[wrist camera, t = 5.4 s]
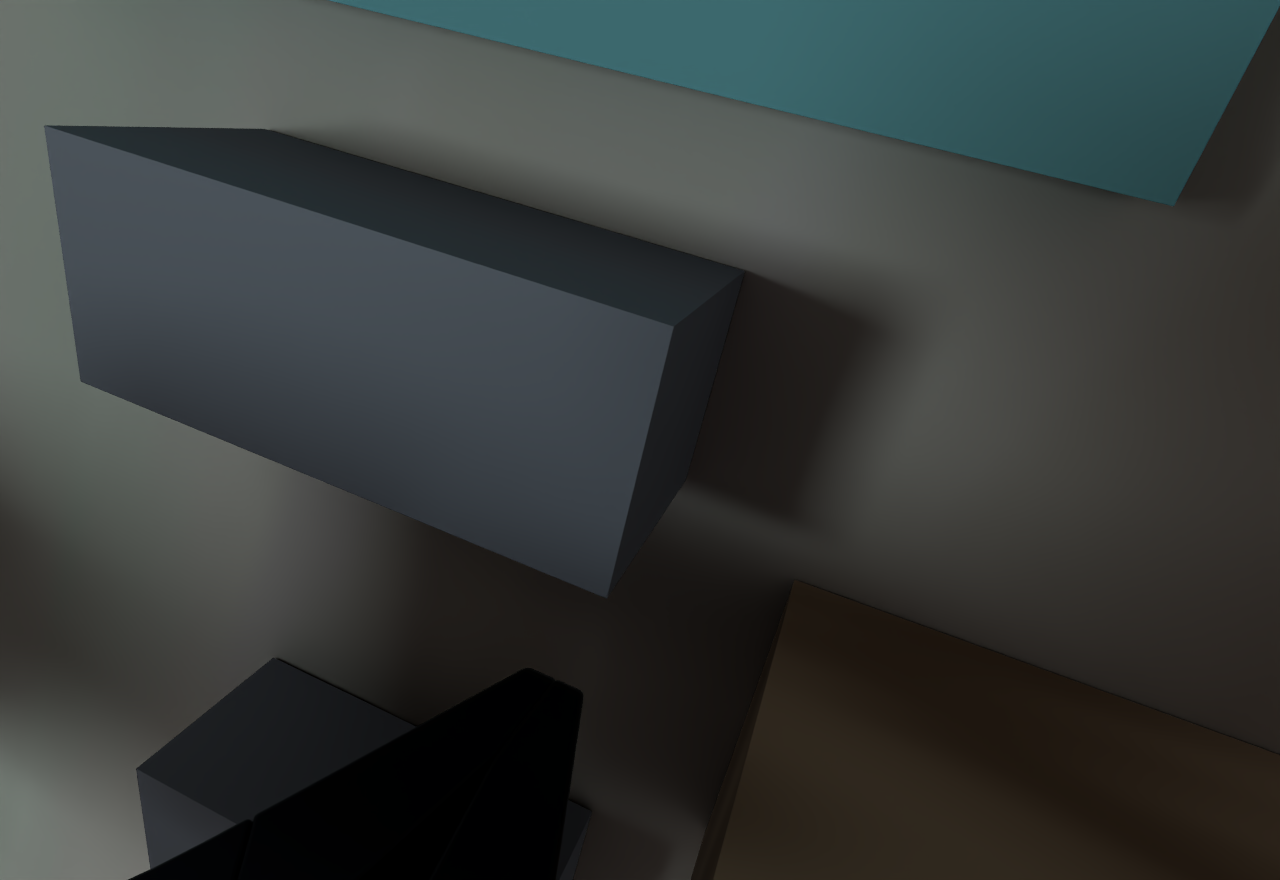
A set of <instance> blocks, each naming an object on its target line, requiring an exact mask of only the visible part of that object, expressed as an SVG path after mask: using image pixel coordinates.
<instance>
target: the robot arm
mask: <svg viewBox="0 0 1280 880" xmlns="http://www.w3.org/2000/svg"><path fill="white" fill-rule="evenodd" d="M582 704H583V692H582V691H581V690H579V689H577V688H575V687H572V686H570V685H568V684H566V683H564V682H561V681H559V680H555V679H554V678H552V677H550V676H548V675H546V674H543V673H541V672H539V671H537V670H534V669H532V668H525V669H522V670H520V671H518V672H516V673H515V674H513V675H511V676H509V677H507V678H505V679H504V680H502V681H500V682H498V683H496V684H494V685H493V686H491V687H489V688H487V689H485V690H483V691H482V692H480V693H478V694H476V695H474V696H472V697H470V698H469V699H467V700H465V701H463V702H461V703H459V704H458V705H456V706H454V707H452V708H450V709H448V710H447V711H445V712H443V713H441V714H439V715H437V716H436V717H434V718H432V719H430V720H428V721H426V722H424V723H423V724H421V725H419V726H417V727H415V728H413V729H412V730H410V731H408V732H406V733H404V734H402V735H401V736H399V737H397V738H395V739H393V740H391V741H390V742H388V743H386V744H384V745H382V746H380V747H378V748H377V749H375V750H373V751H371V752H369V753H367V754H366V755H364V756H362V757H360V758H358V759H356V760H355V761H353V762H351V763H349V764H347V765H345V766H344V767H342V768H340V769H338V770H336V771H334V772H332V773H331V774H329V775H327V776H325V777H323V778H321V779H320V780H318V781H316V782H314V783H312V784H310V785H309V786H307V787H305V788H303V789H301V790H299V791H298V792H296V793H294V794H292V795H290V796H288V797H286V798H285V799H283V800H281V801H279V802H277V803H275V804H274V805H272V806H270V807H268V808H266V809H264V810H263V811H261V812H259V813H257V814H256V815H255V816H254V818H253V821H252V820H250V819H245V820H243V821H242V822H240V823H238V824H236V825H234V826H233V827H231V828H229V829H227V830H225V831H223V832H221V833H220V834H218V835H216V836H214V837H212V838H210V839H208V840H207V841H205V842H203V843H201V844H199V845H197V846H195V847H193V848H191V849H189V850H187V851H185V852H183V853H181V854H179V855H177V856H175V857H174V858H172V859H170V860H168V861H166V862H164V863H162V864H160V865H158V866H156V867H154V868H152V869H150V870H148V871H146V872H144V873H141V874H139V875H137V876H135V877H133V878H131V879H128V880H556V877H557V870H558V863H559V857H560V850H561V844H562V837H563V830H564V824H565V817H566V810H567V804H568V797H569V791H570V784H571V777H572V771H573V764H574V757H575V751H576V744H577V738H578V731H579V724H580V718H581V711H582Z"/></svg>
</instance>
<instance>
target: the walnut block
mask: <svg viewBox="0 0 1280 880" xmlns="http://www.w3.org/2000/svg"><path fill="white" fill-rule="evenodd" d="M691 880H1280V755H1278V754H1276V753H1273V752H1270V751H1267V750H1264V749H1262V748H1259V747H1256V746H1253V745H1251V744H1248V743H1245V742H1242V741H1240V740H1237V739H1234V738H1231V737H1228V736H1226V735H1223V734H1220V733H1217V732H1215V731H1212V730H1209V729H1206V728H1204V727H1201V726H1198V725H1195V724H1193V723H1190V722H1187V721H1184V720H1181V719H1179V718H1176V717H1173V716H1170V715H1168V714H1165V713H1162V712H1159V711H1157V710H1154V709H1151V708H1148V707H1145V706H1143V705H1140V704H1137V703H1134V702H1132V701H1129V700H1126V699H1123V698H1121V697H1118V696H1115V695H1112V694H1110V693H1107V692H1104V691H1101V690H1098V689H1096V688H1093V687H1090V686H1087V685H1085V684H1082V683H1079V682H1076V681H1074V680H1071V679H1068V678H1065V677H1063V676H1060V675H1057V674H1054V673H1051V672H1049V671H1046V670H1043V669H1040V668H1038V667H1035V666H1032V665H1029V664H1027V663H1024V662H1021V661H1018V660H1015V659H1013V658H1010V657H1007V656H1004V655H1002V654H999V653H996V652H993V651H991V650H988V649H985V648H982V647H980V646H977V645H974V644H971V643H968V642H966V641H963V640H960V639H957V638H955V637H952V636H949V635H946V634H944V633H941V632H938V631H935V630H932V629H930V628H927V627H924V626H921V625H919V624H916V623H913V622H910V621H908V620H905V619H902V618H899V617H897V616H894V615H891V614H888V613H885V612H883V611H880V610H877V609H874V608H872V607H869V606H866V605H863V604H861V603H858V602H855V601H852V600H849V599H847V598H844V597H841V596H838V595H836V594H833V593H830V592H827V591H825V590H822V589H819V588H816V587H814V586H811V585H808V584H805V583H802V582H800V581H797V580H794V583H793V586H792V588H791V591H790V594H789V597H788V600H787V603H786V605H785V608H784V611H783V614H782V617H781V619H780V622H779V625H778V628H777V631H776V634H775V636H774V639H773V642H772V645H771V648H770V650H769V653H768V656H767V659H766V662H765V665H764V667H763V670H762V673H761V676H760V679H759V682H758V684H757V687H756V690H755V693H754V696H753V698H752V701H751V704H750V707H749V710H748V713H747V715H746V718H745V721H744V724H743V727H742V729H741V732H740V735H739V738H738V741H737V744H736V746H735V749H734V752H733V755H732V758H731V761H730V763H729V766H728V769H727V772H726V775H725V777H724V780H723V783H722V786H721V789H720V792H719V794H718V797H717V800H716V803H715V806H714V808H713V811H712V814H711V817H710V820H709V823H708V825H707V828H706V831H705V834H704V837H703V841H702V844H701V847H700V851H699V854H698V857H697V861H696V864H695V867H694V871H693V874H692V877H691Z"/></svg>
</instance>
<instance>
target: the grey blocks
mask: <svg viewBox="0 0 1280 880" xmlns="http://www.w3.org/2000/svg"><path fill="white" fill-rule="evenodd" d="M44 128H45V135H46V142H47V149H48V156H49V163H50V170H51V177H52V183H53V190H54V197H55V204H56V211H57V218H58V225H59V232H60V239H61V246H62V253H63V260H64V267H65V274H66V281H67V288H68V295H69V302H70V309H71V316H72V323H73V330H74V337H75V344H76V351H77V358H78V365H79V372H80V379H81V382H83V383H86V384H88V385H91V386H93V387H96V388H98V389H100V390H103V391H105V392H108V393H110V394H112V395H115V396H117V397H120V398H122V399H125V400H127V401H129V402H132V403H134V404H137V405H139V406H142V407H144V408H146V409H149V410H151V411H154V412H156V413H158V414H161V415H163V416H166V417H168V418H171V419H173V420H175V421H178V422H180V423H183V424H185V425H188V426H190V427H192V428H195V429H197V430H200V431H202V432H205V433H207V434H209V435H212V436H214V437H217V438H219V439H221V440H224V441H226V442H229V443H231V444H234V445H236V446H238V447H241V448H243V449H246V450H248V451H251V452H253V453H255V454H258V455H260V456H263V457H265V458H267V459H270V460H272V461H275V462H277V463H280V464H282V465H284V466H287V467H289V468H292V469H294V470H297V471H299V472H301V473H304V474H306V475H309V476H311V477H313V478H316V479H318V480H321V481H323V482H326V483H328V484H330V485H333V486H335V487H338V488H340V489H343V490H345V491H347V492H350V493H352V494H355V495H357V496H360V497H362V498H364V499H367V500H369V501H372V502H374V503H376V504H379V505H381V506H384V507H386V508H389V509H391V510H393V511H396V512H398V513H401V514H403V515H406V516H408V517H410V518H413V519H415V520H418V521H420V522H422V523H425V524H427V525H430V526H432V527H435V528H437V529H439V530H442V531H444V532H447V533H449V534H452V535H454V536H456V537H459V538H461V539H464V540H466V541H468V542H471V543H473V544H476V545H478V546H481V547H483V548H485V549H488V550H490V551H493V552H495V553H498V554H500V555H502V556H505V557H507V558H510V559H512V560H515V561H517V562H519V563H522V564H524V565H527V566H529V567H531V568H534V569H536V570H539V571H541V572H544V573H546V574H548V575H551V576H553V577H556V578H558V579H561V580H563V581H565V582H568V583H570V584H573V585H575V586H577V587H580V588H582V589H585V590H587V591H590V592H592V593H594V594H597V595H599V596H602V597H604V598H607V597H608V596H609V594H610V593H611V591H612V590H613V588H614V587H615V585H616V584H617V582H618V581H619V579H620V578H621V576H622V575H623V573H624V572H625V570H626V569H627V567H628V566H629V564H630V563H631V561H632V560H633V558H634V557H635V555H636V554H637V552H638V551H639V549H640V548H641V546H642V545H643V543H644V542H645V540H646V539H647V537H648V536H649V534H650V533H651V531H652V530H653V528H654V527H655V525H656V524H657V522H658V521H659V519H660V518H661V516H662V515H663V513H664V512H665V510H666V509H667V507H668V506H669V504H670V503H671V501H672V500H673V498H674V497H675V495H676V494H677V492H678V491H679V489H680V488H681V486H682V485H683V483H684V482H685V480H686V477H687V474H688V470H689V467H690V463H691V460H692V456H693V453H694V449H695V445H696V442H697V438H698V435H699V431H700V428H701V424H702V421H703V417H704V414H705V410H706V407H707V403H708V399H709V396H710V392H711V389H712V385H713V382H714V378H715V375H716V371H717V368H718V364H719V361H720V357H721V354H722V350H723V346H724V343H725V339H726V336H727V332H728V329H729V325H730V322H731V318H732V315H733V311H734V308H735V304H736V300H737V297H738V293H739V290H740V286H741V283H742V279H743V276H744V272H745V271H743V270H740V269H737V268H733V267H730V266H726V265H723V264H720V263H716V262H713V261H710V260H706V259H703V258H699V257H696V256H693V255H689V254H686V253H682V252H679V251H676V250H672V249H669V248H666V247H662V246H659V245H655V244H652V243H649V242H645V241H642V240H639V239H635V238H632V237H628V236H625V235H622V234H618V233H615V232H611V231H608V230H605V229H601V228H598V227H595V226H591V225H588V224H584V223H581V222H578V221H574V220H571V219H567V218H564V217H561V216H557V215H554V214H551V213H547V212H544V211H540V210H537V209H534V208H530V207H527V206H523V205H520V204H517V203H513V202H510V201H507V200H503V199H500V198H496V197H493V196H490V195H486V194H483V193H479V192H476V191H473V190H469V189H466V188H463V187H459V186H456V185H452V184H449V183H446V182H442V181H439V180H435V179H432V178H429V177H425V176H422V175H419V174H415V173H412V172H408V171H405V170H402V169H398V168H395V167H391V166H388V165H385V164H381V163H378V162H375V161H371V160H368V159H364V158H361V157H358V156H354V155H351V154H348V153H344V152H341V151H337V150H334V149H331V148H327V147H324V146H320V145H317V144H314V143H310V142H307V141H304V140H300V139H297V138H293V137H290V136H287V135H283V134H280V133H276V132H273V131H270V130H266V129H234V128H171V127H107V126H44ZM415 727H416V726H414V725H412V724H410V723H407V722H405V721H403V720H401V719H399V718H397V717H395V716H393V715H391V714H389V713H387V712H385V711H383V710H381V709H378V708H376V707H374V706H372V705H370V704H368V703H366V702H364V701H362V700H360V699H358V698H356V697H354V696H352V695H349V694H347V693H345V692H343V691H341V690H339V689H337V688H335V687H333V686H331V685H329V684H327V683H325V682H323V681H321V680H318V679H316V678H314V677H312V676H310V675H308V674H306V673H304V672H302V671H300V670H298V669H296V668H294V667H292V666H289V665H287V664H285V663H283V662H281V661H279V660H277V659H275V658H272V659H271V660H270V661H269V662H267V663H266V664H265V665H264V666H262V667H261V668H260V669H259V670H257V671H256V672H255V673H254V674H253V675H251V676H250V677H249V678H248V679H246V680H245V681H244V682H243V683H241V684H240V685H239V686H238V687H237V688H235V689H234V690H233V691H232V692H230V693H229V694H228V695H227V696H225V697H224V698H223V699H222V700H220V701H219V702H218V703H217V704H216V705H214V706H213V707H212V708H211V709H209V710H208V711H207V712H206V713H204V714H203V715H202V716H201V717H199V718H198V719H197V720H196V721H195V722H193V723H192V724H191V725H190V726H188V727H187V728H186V729H185V730H183V731H182V732H181V733H180V734H179V735H177V736H176V737H175V738H174V739H172V740H171V741H170V742H169V743H167V744H166V745H165V746H164V747H162V748H161V749H160V750H159V751H158V752H156V753H155V754H154V755H153V756H151V757H150V758H149V759H148V760H146V761H145V762H144V763H143V764H142V765H140V766H139V767H138V768H137V769H136V771H137V778H138V785H139V792H140V799H141V806H142V813H143V820H144V827H145V834H146V841H147V848H148V855H149V862H150V869H152V868H154V867H156V866H158V865H160V864H162V863H164V862H166V861H168V860H170V859H172V858H174V857H175V856H177V855H179V854H181V853H183V852H185V851H187V850H189V849H191V848H193V847H195V846H197V845H199V844H201V843H203V842H205V841H207V840H208V839H210V838H212V837H214V836H216V835H218V834H220V833H221V832H223V831H225V830H227V829H229V828H231V827H233V826H234V825H236V824H238V823H240V822H242V821H243V820H245V819H250V820H252V821H253V818H254V816H255V815H256V814H257V813H259V812H261V811H263V810H264V809H266V808H268V807H270V806H272V805H274V804H275V803H277V802H279V801H281V800H283V799H285V798H286V797H288V796H290V795H292V794H294V793H296V792H298V791H299V790H301V789H303V788H305V787H307V786H309V785H310V784H312V783H314V782H316V781H318V780H320V779H321V778H323V777H325V776H327V775H329V774H331V773H332V772H334V771H336V770H338V769H340V768H342V767H344V766H345V765H347V764H349V763H351V762H353V761H355V760H356V759H358V758H360V757H362V756H364V755H366V754H367V753H369V752H371V751H373V750H375V749H377V748H378V747H380V746H382V745H384V744H386V743H388V742H390V741H391V740H393V739H395V738H397V737H399V736H401V735H402V734H404V733H406V732H408V731H410V730H412V729H413V728H415ZM591 813H592V811H590V810H588V809H585V808H583V807H581V806H579V805H577V804H575V803H573V802H571V801H569V800H568V804H567V810H566V817H565V824H564V830H563V837H562V844H561V850H560V857H559V863H558V870H557V877H556V880H573V877H574V873H575V870H576V866H577V863H578V859H579V856H580V852H581V849H582V845H583V841H584V838H585V834H586V831H587V827H588V824H589V820H590V817H591Z"/></svg>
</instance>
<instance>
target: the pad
mask: <svg viewBox="0 0 1280 880" xmlns="http://www.w3.org/2000/svg"><path fill="white" fill-rule="evenodd" d="M329 1H333V2H338V3H342V4H346V5H350V6H354V7H358V8H362V9H366V10H370V11H374V12H379V13H383V14H387V15H391V16H395V17H399V18H403V19H407V20H411V21H415V22H420V23H424V24H428V25H432V26H436V27H440V28H444V29H448V30H452V31H456V32H461V33H465V34H469V35H473V36H477V37H481V38H485V39H489V40H493V41H497V42H502V43H506V44H510V45H514V46H518V47H522V48H526V49H530V50H534V51H538V52H543V53H547V54H551V55H555V56H559V57H563V58H567V59H571V60H575V61H579V62H584V63H588V64H592V65H596V66H600V67H604V68H608V69H612V70H616V71H620V72H625V73H629V74H633V75H637V76H641V77H645V78H649V79H653V80H657V81H661V82H666V83H670V84H674V85H678V86H682V87H686V88H690V89H694V90H698V91H702V92H706V93H711V94H715V95H719V96H723V97H727V98H731V99H735V100H739V101H743V102H747V103H752V104H756V105H760V106H764V107H768V108H772V109H776V110H780V111H784V112H788V113H793V114H797V115H801V116H805V117H809V118H813V119H817V120H821V121H825V122H829V123H834V124H838V125H842V126H846V127H850V128H854V129H858V130H862V131H866V132H870V133H875V134H879V135H883V136H887V137H891V138H895V139H899V140H903V141H907V142H911V143H916V144H920V145H924V146H928V147H932V148H936V149H940V150H944V151H948V152H952V153H957V154H961V155H965V156H969V157H973V158H977V159H981V160H985V161H989V162H993V163H998V164H1002V165H1006V166H1010V167H1014V168H1018V169H1022V170H1026V171H1030V172H1034V173H1039V174H1043V175H1047V176H1051V177H1055V178H1059V179H1063V180H1067V181H1071V182H1075V183H1080V184H1084V185H1088V186H1092V187H1096V188H1100V189H1104V190H1108V191H1112V192H1116V193H1121V194H1125V195H1129V196H1133V197H1137V198H1141V199H1145V200H1149V201H1153V202H1157V203H1162V204H1166V205H1170V206H1174V205H1175V203H1176V201H1177V199H1178V197H1179V195H1180V193H1181V192H1182V190H1183V188H1184V186H1185V184H1186V182H1187V180H1188V178H1189V176H1190V175H1191V173H1192V171H1193V169H1194V167H1195V165H1196V163H1197V161H1198V159H1199V158H1200V156H1201V154H1202V152H1203V150H1204V148H1205V146H1206V144H1207V142H1208V141H1209V139H1210V137H1211V135H1212V133H1213V131H1214V129H1215V127H1216V125H1217V124H1218V122H1219V120H1220V118H1221V116H1222V114H1223V112H1224V110H1225V108H1226V107H1227V105H1228V103H1229V101H1230V99H1231V97H1232V95H1233V93H1234V91H1235V90H1236V88H1237V86H1238V84H1239V82H1240V80H1241V78H1242V76H1243V75H1244V73H1245V71H1246V69H1247V67H1248V65H1249V63H1250V61H1251V59H1252V58H1253V56H1254V54H1255V52H1256V50H1257V48H1258V46H1259V44H1260V42H1261V41H1262V39H1263V37H1264V35H1265V33H1266V31H1267V29H1268V27H1269V25H1270V24H1271V22H1272V20H1273V18H1274V16H1275V14H1276V12H1277V10H1278V8H1279V7H1280V0H329Z"/></svg>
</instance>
